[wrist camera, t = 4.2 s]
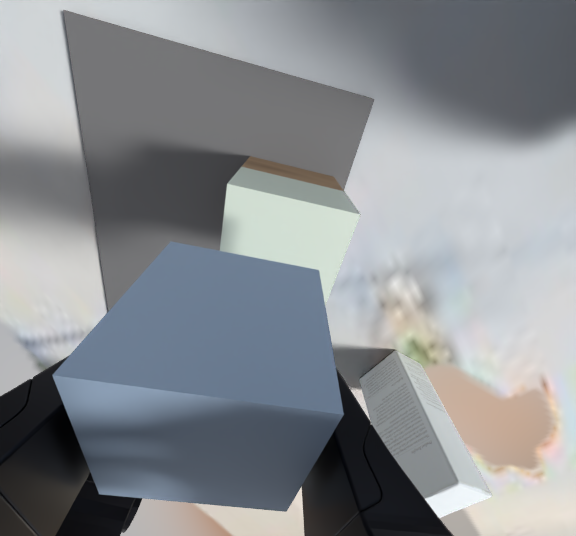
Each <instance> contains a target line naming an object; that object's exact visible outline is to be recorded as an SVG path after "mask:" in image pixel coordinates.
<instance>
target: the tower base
mask: <svg viewBox="0 0 576 536" xmlns="http://www.w3.org/2000/svg"><path fill="white" fill-rule="evenodd" d="M242 167H245V168H249V169H253V170H257V171H262V172H266V173H270V174H274V175H278V176H282V177H287V178H291V179H295V180H299V181H303V182H307V183H312V184H316V185H320V186H324V187H328V188H332V189H337V190H341V191H344V190H343V189H342V188H341V186H340V185H339V183H338V182H337V180H336V179H335V178H334V177H333V176H329V175H325V174H321V173H317V172H313V171H309V170H305V169H301V168H297V167H292V166H288V165H284V164H280V163H276V162H272V161H268V160H264V159H260V158H256V157H252V156H250V157H249V158H248V159H247V161H246V162H245V163H244V164H243V165H242Z"/></svg>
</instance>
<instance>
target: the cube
mask: <svg viewBox="0 0 576 536" xmlns="http://www.w3.org/2000/svg"><path fill="white" fill-rule="evenodd" d="M52 376H53V378H54V381H55V384H56V386H57V389H58V391H59V394H60V396H61V399H62V401H63V404H64V406H65V409H66V411H67V414H68V416H69V419H70V421H71V424H72V427H73V429H74V432H75V434H76V437H77V439H78V442H79V444H80V447H81V449H82V452H83V454H84V457H85V459H86V462H87V465H88V467H89V470H90V472H91V475H92V477H93V480H94V482H95V485H96V487H97V490H98V492H99V494H102V495H113V496H123V497H134V498H145V499H156V500H167V501H178V502H188V503H199V504H210V505H221V506H232V507H242V508H253V509H264V510H275V511H287V510H288V508H289V506H290V505H291V503H292V501H293V500H294V498H295V496H296V494H297V493H298V491H299V489H300V488H301V486H302V484H303V483H304V481H305V479H306V478H307V476H308V474H309V472H310V471H311V469H312V467H313V466H314V464H315V462H316V461H317V459H318V457H319V456H320V454H321V452H322V451H323V449H324V447H325V445H326V444H327V442H328V440H329V439H330V437H331V435H332V434H333V432H334V430H335V429H336V427H337V425H338V424H339V422H340V420H341V418H342V417H343V415H344V413H343V407H342V401H341V395H340V390H339V384H338V378H337V372H336V366H335V360H334V355H333V349H332V343H331V337H330V331H329V325H328V320H327V314H326V308H325V302H324V296H323V290H322V284H321V279H320V273H319V270H316V269H311V268H306V267H301V266H296V265H290V264H285V263H280V262H275V261H270V260H265V259H259V258H254V257H249V256H244V255H239V254H234V253H228V252H223V251H218V250H213V249H208V248H202V247H197V246H192V245H187V244H182V243H177V242H170V243H169V244H168V245H167V246H166V247H165V248H164V250H163V251H162V252H161V253H160V254H159V255H158V256H157V257H156V259H155V260H154V261H153V262H152V263H151V264H150V265H149V266H148V268H147V269H146V270H145V271H144V272H143V273H142V274H141V276H140V277H139V278H138V279H137V280H136V281H135V282H134V283H133V285H132V286H131V287H130V288H129V289H128V290H127V291H126V292H125V294H124V295H123V296H122V297H121V298H120V299H119V300H118V302H117V303H116V304H115V305H114V306H113V307H112V308H111V309H110V311H109V312H108V313H107V314H106V315H105V316H104V317H103V318H102V320H101V321H100V322H99V323H98V324H97V325H96V326H95V327H94V329H93V330H92V331H91V332H90V333H89V334H88V335H87V337H86V338H85V339H84V340H83V341H82V342H81V343H80V344H79V346H78V347H77V348H76V349H75V350H74V351H73V352H72V353H71V355H70V356H69V357H68V358H67V359H66V360H65V361H64V363H63V364H62V365H61V366H60V367H59V368H58V369H57V370H56V372H55V373H54V374H53V375H52Z"/></svg>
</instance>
